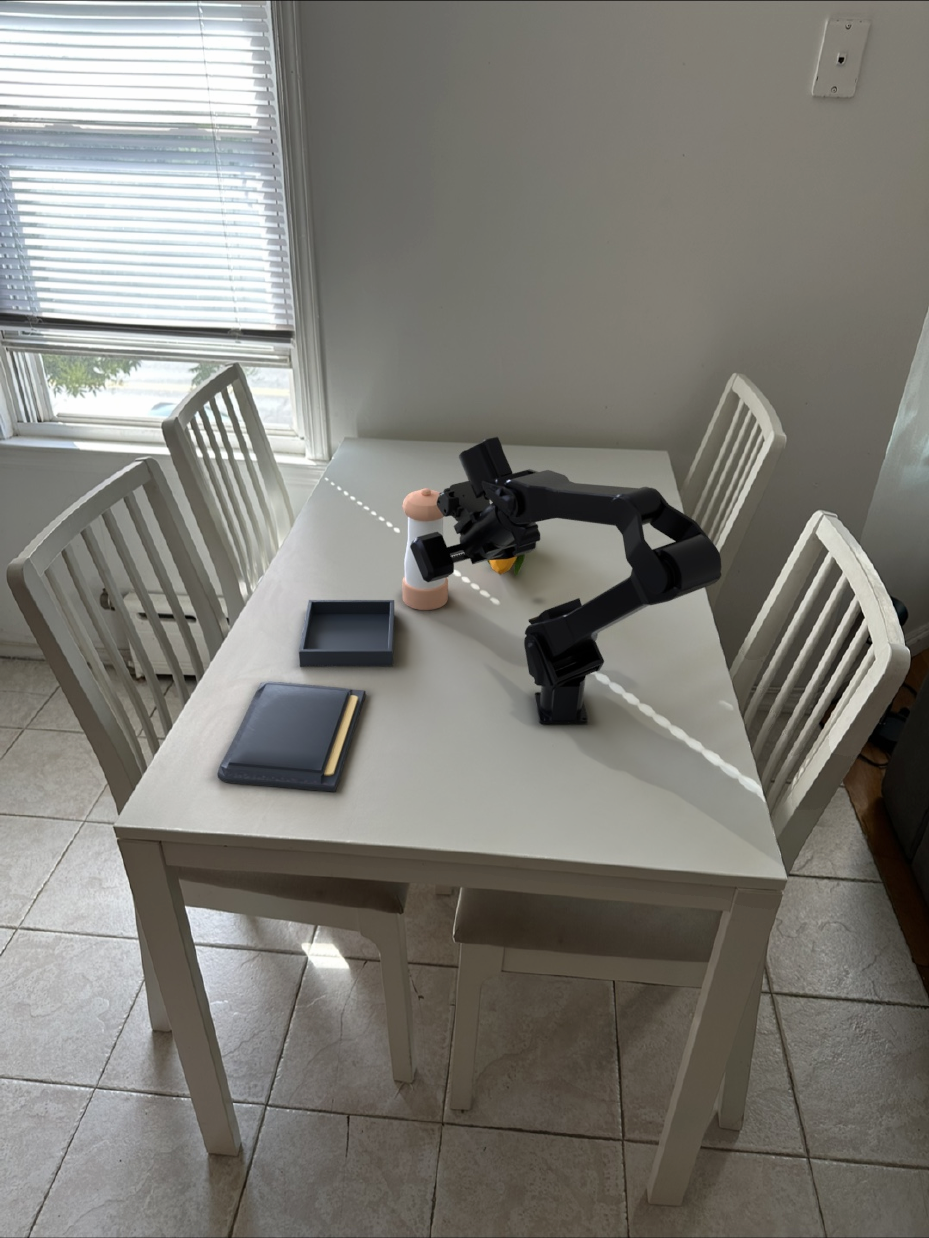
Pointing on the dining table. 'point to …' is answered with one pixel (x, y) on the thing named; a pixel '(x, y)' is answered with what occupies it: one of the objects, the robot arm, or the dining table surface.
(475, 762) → the dining table surface
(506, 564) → the corn
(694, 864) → the dining table surface
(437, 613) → the dining table surface
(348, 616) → the tray
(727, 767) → the dining table surface
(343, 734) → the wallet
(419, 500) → the pepper shaker
